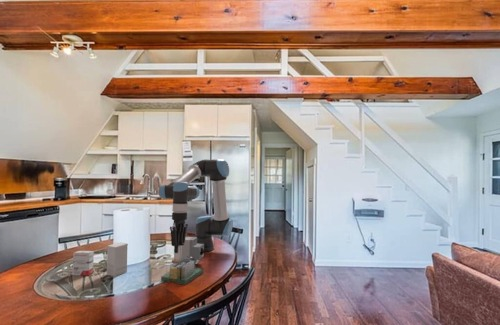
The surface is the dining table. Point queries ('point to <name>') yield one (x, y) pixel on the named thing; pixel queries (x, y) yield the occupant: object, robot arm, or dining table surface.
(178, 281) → the circuit board
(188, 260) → the silver elongated bar
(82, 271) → the ink box
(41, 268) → the dining table surface
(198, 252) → the circuit breaker
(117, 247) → the skincare box
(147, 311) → the dining table surface
